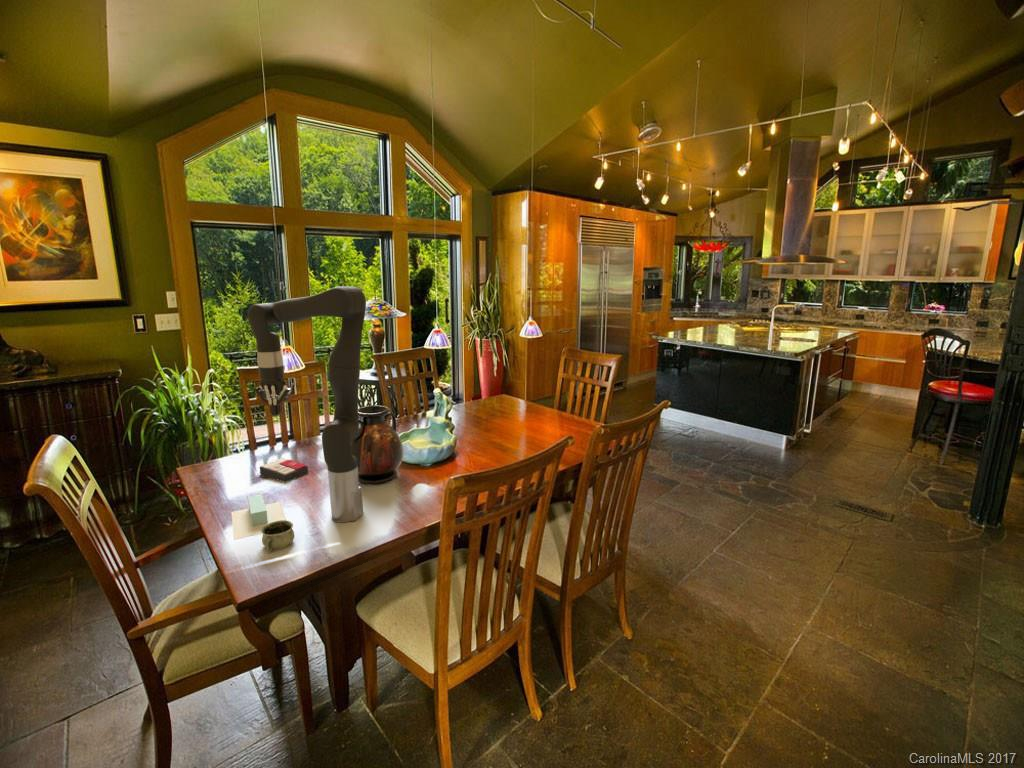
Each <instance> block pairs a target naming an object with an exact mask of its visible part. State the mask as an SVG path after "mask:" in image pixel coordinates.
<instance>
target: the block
mask: <svg viewBox="0 0 1024 768" xmlns="http://www.w3.org/2000/svg"><path fill="white" fill-rule="evenodd" d="M264 499H265V498H264V496H263V493H260V494H255V495H248V496H247V501H248V508H249V510H250V515H251V521H252V526H257V525H262V524H266V523H268V519H267V511H266V507H265V505H266V503H265V500H264Z"/></svg>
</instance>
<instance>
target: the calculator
mask: <svg viewBox="0 0 1024 768" xmlns="http://www.w3.org/2000/svg"><path fill="white" fill-rule="evenodd" d="M307 472H309V467H308V466H307V464H305V463H304V464H303V463H301V462H298V461H295V460H292V459H287V458H285V457H281V458H279V459H276V460H273V461H270V462H268V463H266V464H263V465H261V466H259V475H260V474H261V475H260V476H263V475H264V476H263V477H266V476H268V478H271V479H273V478H274V480H277V479H278V480H277V481H280V480H281V481H280V482H283V481H284V483H286V481H287V482H290V481H291V480H294V479H296V478H298V477H300V475H301V476H302V474H303V475H305V474H308V473H307ZM295 477H296V478H295ZM293 478H294V479H293Z"/></svg>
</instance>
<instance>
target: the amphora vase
mask: <svg viewBox="0 0 1024 768" xmlns="http://www.w3.org/2000/svg"><path fill="white" fill-rule="evenodd" d="M357 410H358V424H359V432H358V436H357V438H356V439H355V441H354V442H353V443H351V449H352V455H353V456H355V457H356V458H357V464H358V479H359V484H362V485H365V486H378V485H379V484H380V485H384V484H387V483H390V482H392V481H394V480H395V479H396V478H397V477H398V474H399V471H398V468H399V467H400V466H401V463H402V462H403V459H404V453H405V452H404V445H403V441H402V439H401V437H400V436H399V435H400V434H398V433H397V432H398V431H397V419H396V415H395V414H394V413H393V412H391V409H390V407H388V406H385V405H367V406H366V405H365V406H362V407H359V408H357ZM389 417H390V418H391V419H390V420H391V426H390V424H389V423H388V422H387V421H388V418H389ZM359 418H361V420H360V419H359Z"/></svg>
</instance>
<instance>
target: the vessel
mask: <svg viewBox="0 0 1024 768" xmlns="http://www.w3.org/2000/svg"><path fill="white" fill-rule="evenodd" d="M293 527H294V524H293V522H292V521H290V520H287V519H286V520H280V521H275V522H271V523H269V524H267V525H265V526H264V527H262V529H261V533H260V534H262V537H261V542H262V545H263V546H264V547H265V550H267V553H268V554H271V553H272V551H278V550H283V549H285V548H288V547H289V546H291V545H292V543H293V541H294V539H295V536H296V535H295V531H294V530H293Z"/></svg>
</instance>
